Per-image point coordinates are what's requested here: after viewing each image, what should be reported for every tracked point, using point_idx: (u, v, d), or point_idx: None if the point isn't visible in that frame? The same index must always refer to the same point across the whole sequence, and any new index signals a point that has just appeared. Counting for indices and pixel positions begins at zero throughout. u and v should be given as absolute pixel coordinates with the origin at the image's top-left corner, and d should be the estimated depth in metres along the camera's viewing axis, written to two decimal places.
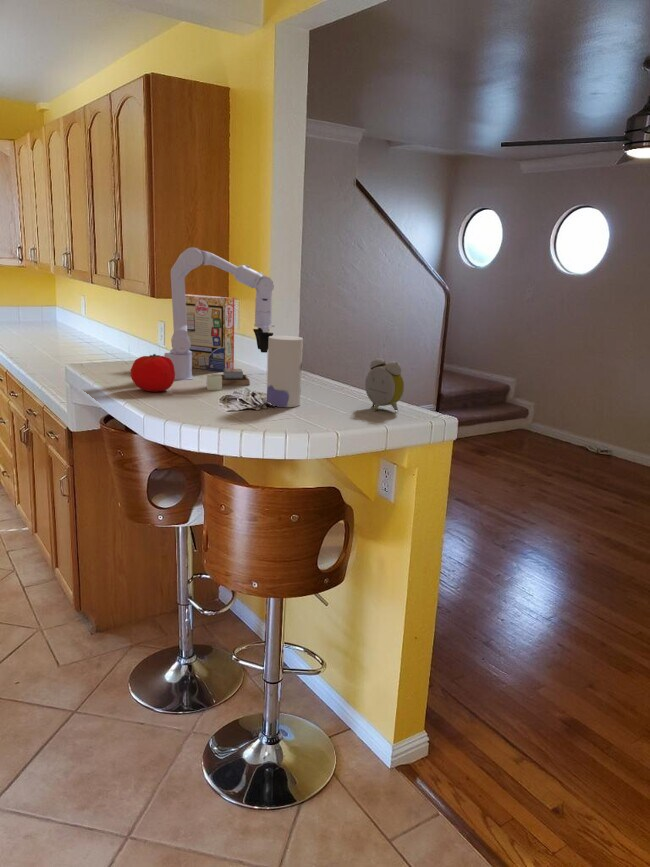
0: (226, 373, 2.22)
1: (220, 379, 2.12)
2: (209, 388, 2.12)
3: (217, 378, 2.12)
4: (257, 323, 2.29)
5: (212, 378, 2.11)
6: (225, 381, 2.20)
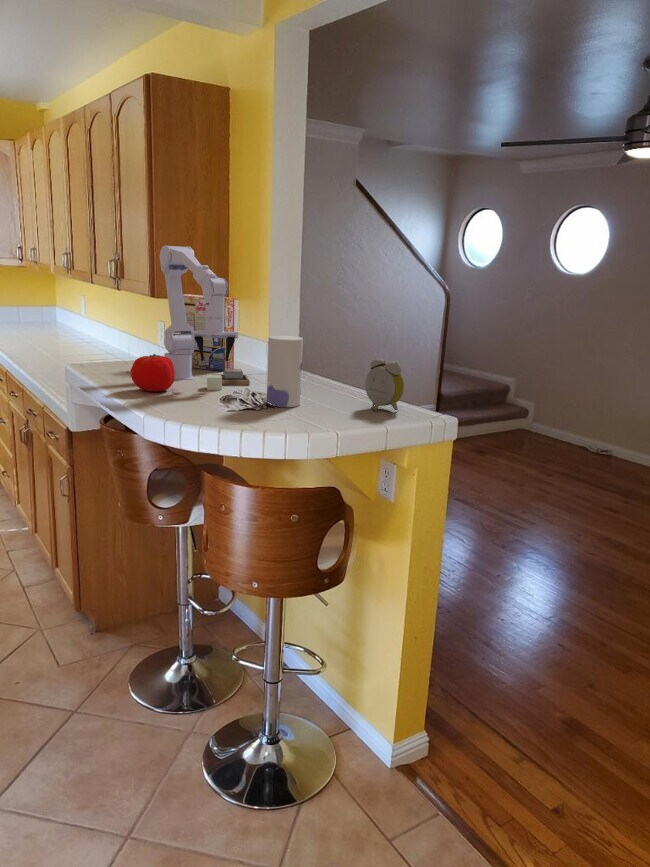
0: (226, 373, 2.22)
1: (220, 379, 2.12)
2: (209, 388, 2.12)
3: (217, 378, 2.12)
4: None
5: (212, 378, 2.11)
6: (225, 381, 2.20)
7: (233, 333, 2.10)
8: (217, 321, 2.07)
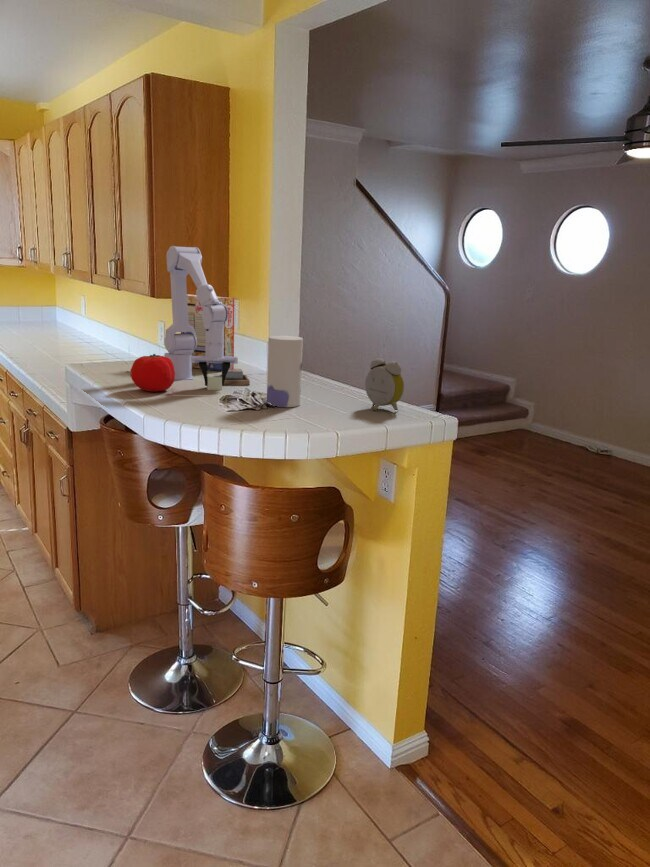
0: None
1: (220, 379, 2.12)
2: (209, 388, 2.12)
3: (217, 378, 2.12)
4: None
5: (212, 378, 2.11)
6: (225, 381, 2.20)
7: (233, 358, 2.12)
8: (217, 347, 2.09)
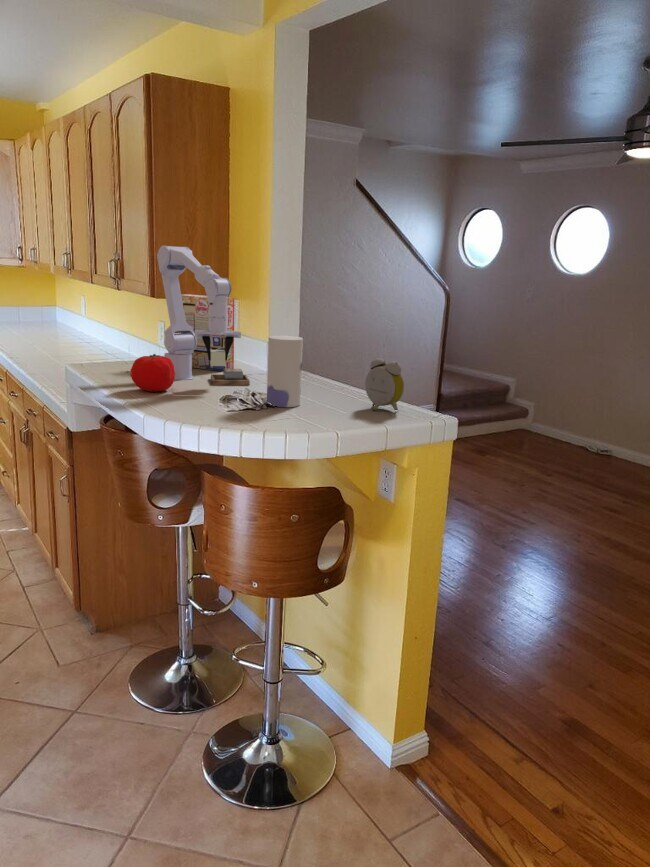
0: (226, 373, 2.22)
1: (223, 353, 2.12)
2: (212, 362, 2.12)
3: (220, 352, 2.12)
4: None
5: (215, 352, 2.11)
6: (225, 381, 2.20)
7: (236, 333, 2.12)
8: (220, 321, 2.08)
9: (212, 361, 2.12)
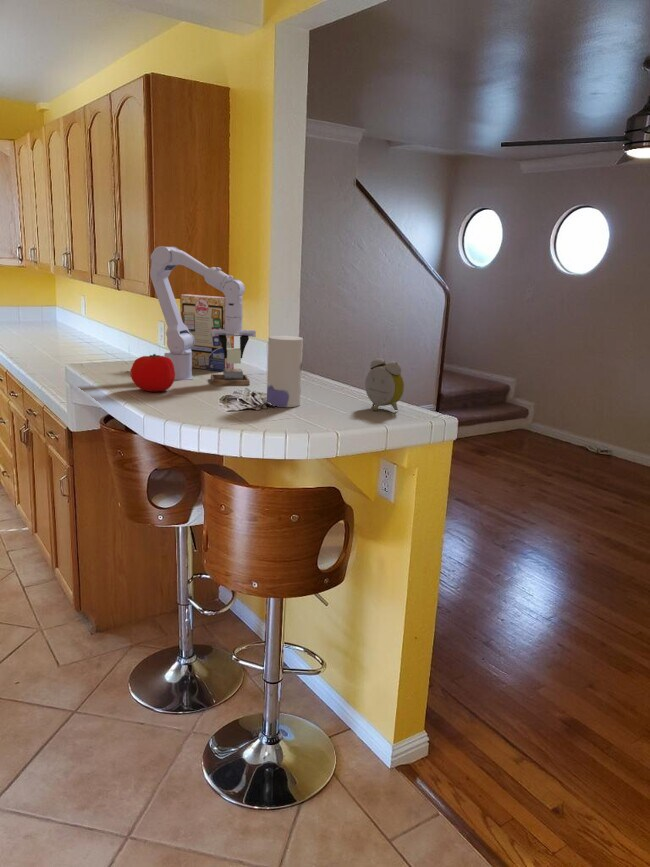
0: (226, 373, 2.22)
1: (239, 351, 2.22)
2: (228, 360, 2.22)
3: (236, 350, 2.22)
4: None
5: (231, 350, 2.21)
6: (225, 381, 2.20)
7: (251, 332, 2.22)
8: (236, 320, 2.19)
9: (228, 359, 2.22)
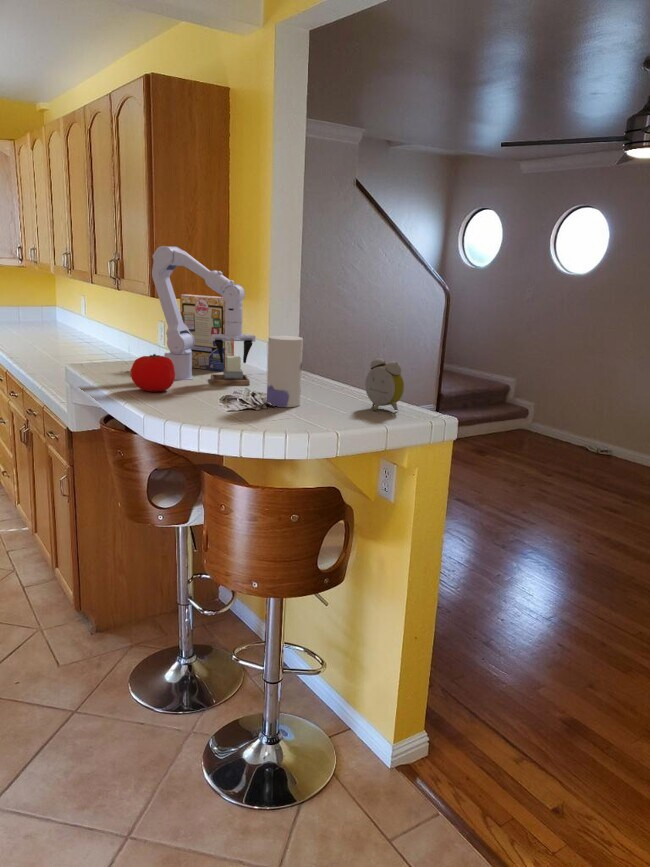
0: (226, 373, 2.22)
1: (239, 359, 2.23)
2: (228, 368, 2.23)
3: (236, 358, 2.22)
4: None
5: (231, 358, 2.22)
6: (225, 381, 2.20)
7: (251, 336, 2.23)
8: (236, 325, 2.19)
9: (228, 366, 2.22)
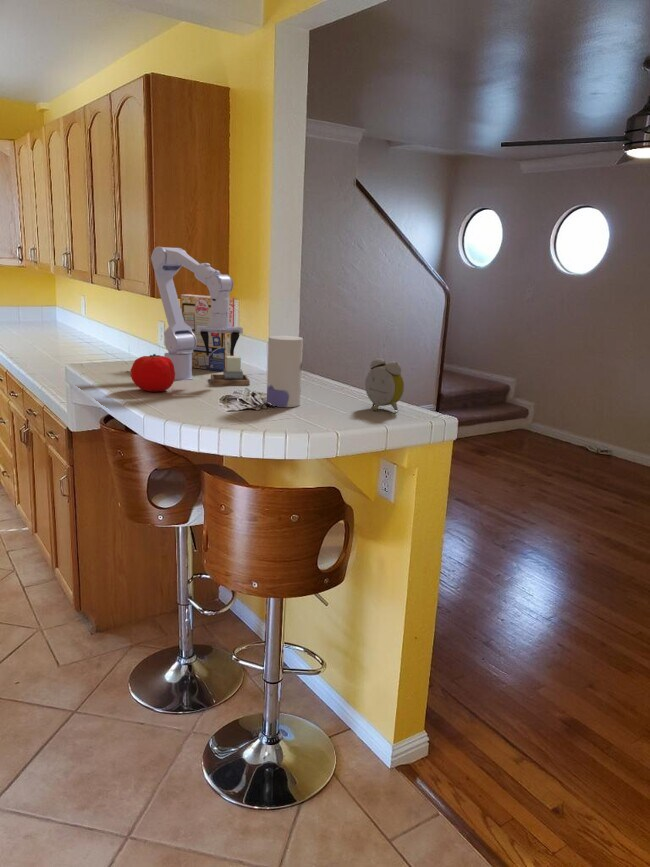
0: (226, 373, 2.22)
1: (239, 359, 2.23)
2: (228, 368, 2.23)
3: (236, 358, 2.22)
4: None
5: (231, 358, 2.22)
6: (225, 381, 2.20)
7: (238, 328, 2.15)
8: (222, 316, 2.11)
9: (228, 366, 2.22)
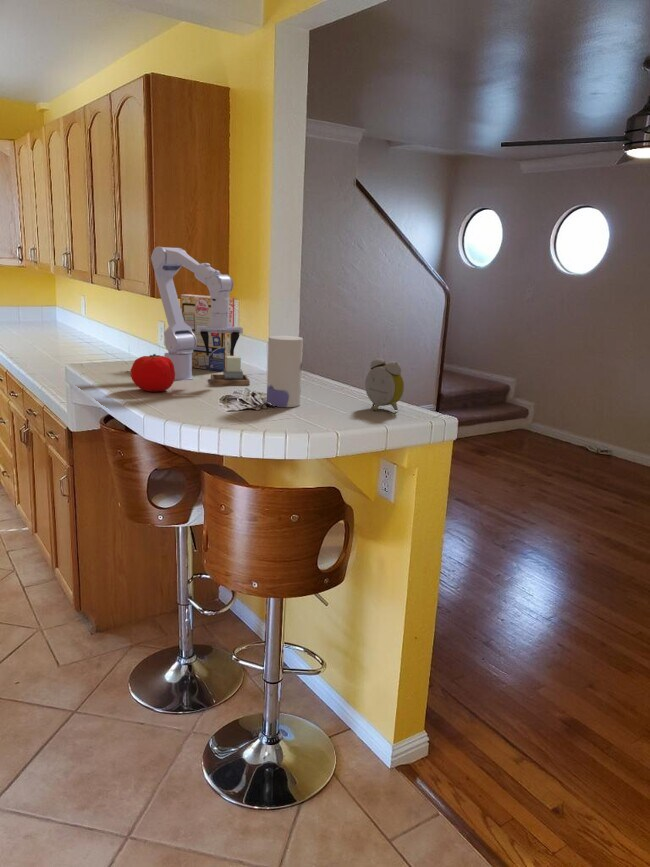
0: (226, 373, 2.22)
1: (239, 359, 2.23)
2: (228, 368, 2.23)
3: (236, 358, 2.22)
4: None
5: (231, 358, 2.22)
6: (225, 381, 2.20)
7: (238, 328, 2.15)
8: (222, 316, 2.11)
9: (228, 366, 2.22)
